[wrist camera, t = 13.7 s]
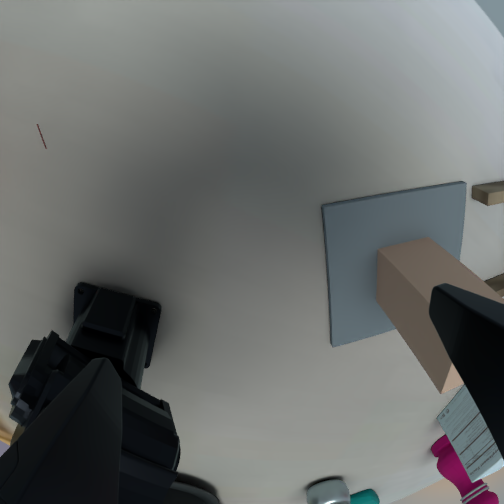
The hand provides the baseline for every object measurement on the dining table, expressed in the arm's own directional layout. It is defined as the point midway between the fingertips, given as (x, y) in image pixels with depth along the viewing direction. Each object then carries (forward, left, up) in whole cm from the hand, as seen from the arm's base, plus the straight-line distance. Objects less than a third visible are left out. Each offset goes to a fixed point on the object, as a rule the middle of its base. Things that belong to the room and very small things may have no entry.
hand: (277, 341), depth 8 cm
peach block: (-1, -13, -12) cm, 18 cm away
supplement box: (-17, -39, -13) cm, 45 cm away
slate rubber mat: (-1, -13, -13) cm, 19 cm away
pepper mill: (-28, -46, -13) cm, 55 cm away
